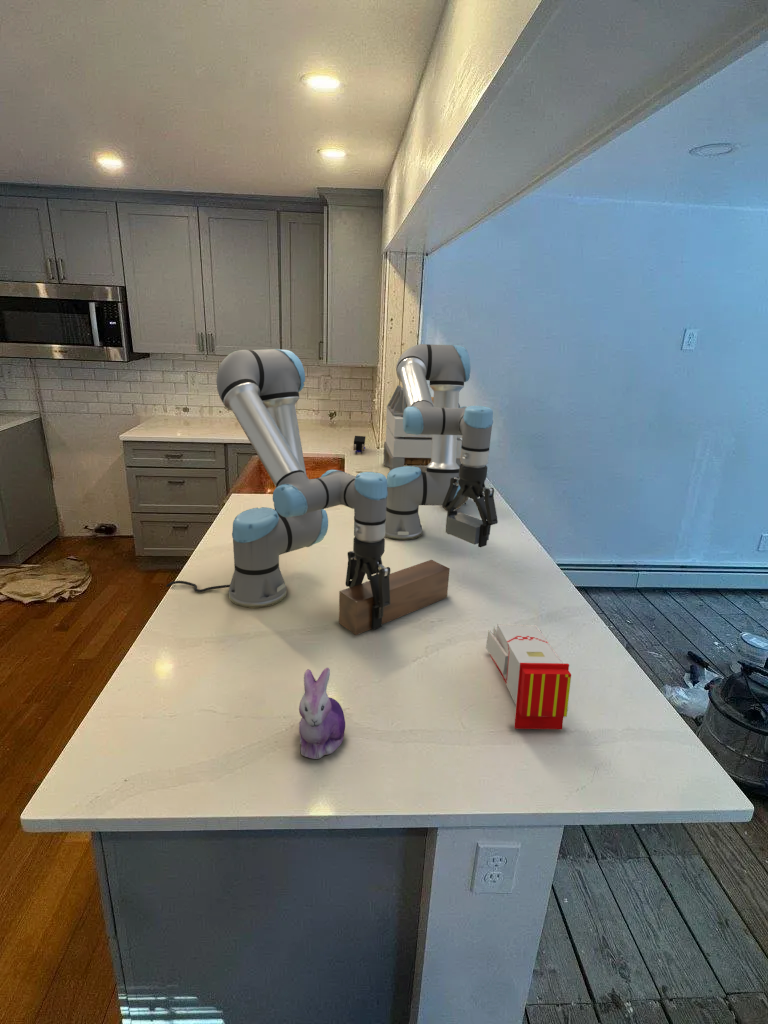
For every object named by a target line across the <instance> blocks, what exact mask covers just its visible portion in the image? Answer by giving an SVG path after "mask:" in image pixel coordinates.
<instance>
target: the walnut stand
mask: <svg viewBox="0 0 768 1024" xmlns="http://www.w3.org/2000/svg"><path fill="white" fill-rule="evenodd" d="M449 580H450V568H449V567H448V566H445V565H443V564H441V563H439V562H438V561H435V560H433V559H429V560H426V561H424V562H420V563H418V564H415V565H412V566H409V567H406V568H403V569H400V570H396V571H394V572H390V575H389V583H390V605H388V606H386V607H384V612H383V617H382V625H384V624H387V623H389V622H392V621H395V620H397V619H399V618H401V617H404V616H406V615H409V614H411V613H413V612H416V611H418V610H421V609H424V608H426V607H428V606H430V605H433V604H435V603H438V602H441V601H442V600H446V599H447V598H448V591H449ZM338 593H339V594H338V595H339V597H338V598H339V599H338V624H339V625H341V626H342V627H343V628H345V629H347V630H348V631H349V632H350V633H352V634H353V635H355V636H357V635H361V634H363V633H365V632H367V631H369V630H372V629H371V624H372V605H375V604H374V599H373V594H372V589H371V584H370V580H368V581H365V582H362V584H359V585H356V586H353V587H350V588H349V587H347V588H345V589H342V590H339V592H338Z"/></svg>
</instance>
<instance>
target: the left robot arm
mask: <svg viewBox="0 0 768 1024" xmlns="http://www.w3.org/2000/svg"><path fill="white" fill-rule="evenodd" d="M305 382H306V373H305V368H304V365H303V363H302V361H301V359H300V357H298V355H297V354H295V353H294V352H293V351H291V350H288V349H280V348H269V349H268V348H267V349H264V348H263V349H239V350H235V351H232V352H231V353H229V354H227V355H226V356H225V358H223V360H222V361H221V362H220V364H219V366H218V369H217V372H216V383H215V384H216V390H217V394H218V396H219V399H220V401H221V402H222V404H223V406H224V407H225V408H226V409H227V410H229V411H232V413H233V415H234V416H235V418H236V420H237V422H238V423H239V426H240V427H241V428H242V431H243V432H244V434H245V436H246V437H247V439H248V441H249V443H250V445H251V446H252V448H253V449H254V452H255V453H256V455H257V457H258V458H259V460H260V462H261V464H262V466H263V467H264V469H265V470H266V472H267V474H268V476H269V478H270V480H271V481H272V483H273V485H274V486H275V488H274V490H273V492H272V502H273V507H274V508H272V507H267V506H266V507H265V506H262V507H253V508H248V509H246V510H244V511H241V512H240V513H238V514H237V515H236V516H235V517H234V519H233V522H232V532H231V536H232V545H233V547H232V548H233V563H234V564H233V565H234V566H233V567H234V571H233V574H232V578H231V580H230V583H229V584H223V585H213V586H207V587H205V588H201V589H198V586H197V584H196V583H193V582H189V581H185V580H173V581H170V582H169V583H167V584H166V585H165V587H166V588H169V587H171V586H172V585H176V584H181V585H186V586H190V587H193V589H194V591H195V592H197V593H205V592H208V591H212V590H217V589H226V588H228V598H229V600H230V602H231V603H233V604H234V605H236V606H239V607H243V608H250V609H258V608H259V609H260V608H266V607H271V606H274V605H276V604H278V603H280V602H281V601H283V600H284V599H285V598H286V597H287V583H286V582H285V579H284V576H283V574H282V571H281V568H280V556H281V555H284V554H287V553H291V552H293V551H296V550H300V549H303V548H304V549H305V548H310V547H312V546H313V545H316V544H318V543H320V542H322V541H323V540H324V539H325V536H326V535H327V533H328V531H329V530H328V529H329V516H328V513H327V510H326V509H329V508H333V507H337V506H345V507H347V508H350V509H353V512H354V514H353V515H354V516H353V521H354V523H353V536H354V537H353V540H352V541H353V542H352V544H353V545H352V546H353V547H352V549H353V550H351V551H347V567H346V575H345V583H344V584H345V586H346V587H347V588H350V587H353V586H356V585H359V584H362V583H363V581H364V578H365V577H366V578H367V580H368V581H370V584H371V589H372V594H373V599H374V604H375V605H372V624H371V629H370V630H372V631H374V630H377V629H379V628H382V627H383V624H382V617H383V612H384V607H386V606H388V605H390V583H389V575H390V574H391V567H389V566H384V565H383V561H382V556H383V555H384V553H385V547H386V546H385V545H386V539H385V538H386V537H385V528H386V504H387V495H388V491H387V476H386V475H385V474H383V473H380V472H374V471H363V472H359V473H357V474H356V475H353V474H350V473H347V472H346V471H342V470H338V469H328V470H326V471H325V472H324V473H323V474H321V476H320V477H316V478H309V477H308V475H307V471H306V470H307V469H306V464H305V459H304V452H303V445H302V441H301V434H300V428H299V422H298V415H297V409H296V404H297V402H298V401H299V399H300V392H301V391H303V389H304V388H305Z"/></svg>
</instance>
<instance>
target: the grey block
mask: <svg viewBox="0 0 768 1024" xmlns="http://www.w3.org/2000/svg"><path fill="white" fill-rule="evenodd" d="M481 524H483V522H482V519H481V518H477V517H475V516H471V515H470V514H467V513H464V512H457V514H453V515H450V516H447V515H446V522H445V533H446V534H447V533H448V534H447V535H450V536H452V537H455V538H457V539H460V540H462V541H464V542H467V543H469V544H472V545H473V546H475V545H478V543H479V534H480V525H481ZM489 539H490V535H489V536H488V537H487V541H489Z"/></svg>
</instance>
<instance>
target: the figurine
mask: <svg viewBox="0 0 768 1024" xmlns="http://www.w3.org/2000/svg"><path fill="white" fill-rule="evenodd" d="M330 676H331V669H330V668H329V667H326V668H324V669H323V670H322V671H321V673H320V675H319V677H318V678H317V680H316V678H315V676H314V674H313V672H312V670H311V669H309V668H307V669H306V670H305V671H304V674H303V686H304V693H303V695H302V697H301V700H300V702H299V706H298V707H299V708H298V711H299V715H300V717H301V719H300V721H299V723H298V724H299V725H298V733H299V745H300V754H301V755H302V756H303V757H305V758H308V759H313V760H319V759H321V758H322V757H324V756H328V755H331V754H333V753H334V752H336V750H337V749H338V748H339V747H340V746H341V745H342V743H343V741H344V737H345V731H346V719H345V713H344V710H343V707H342V705H341V704H340V703H339V701H338V700H336V698H334V697H330V696H329V695H328V693H327V688H328V684H329V680H330Z"/></svg>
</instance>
